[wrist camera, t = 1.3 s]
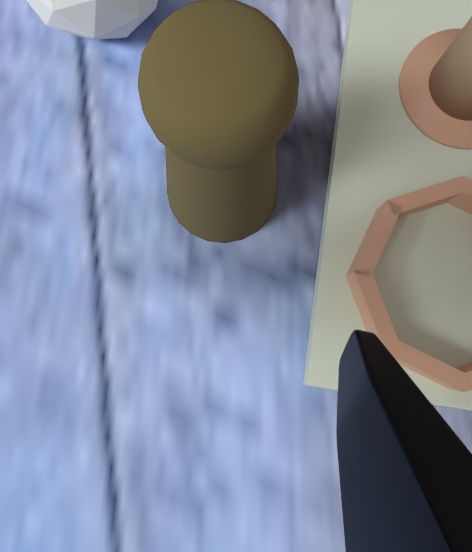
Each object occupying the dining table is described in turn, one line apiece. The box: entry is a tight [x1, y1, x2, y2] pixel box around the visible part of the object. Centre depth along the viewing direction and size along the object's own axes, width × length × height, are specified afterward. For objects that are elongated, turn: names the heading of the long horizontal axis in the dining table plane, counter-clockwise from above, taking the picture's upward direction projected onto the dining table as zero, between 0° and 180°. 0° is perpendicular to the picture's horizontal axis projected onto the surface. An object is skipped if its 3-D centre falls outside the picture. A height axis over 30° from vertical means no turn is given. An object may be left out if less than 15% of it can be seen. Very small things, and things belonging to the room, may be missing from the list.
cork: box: [138, 0, 299, 243], centre depth 17 cm, size 6×6×11 cm
